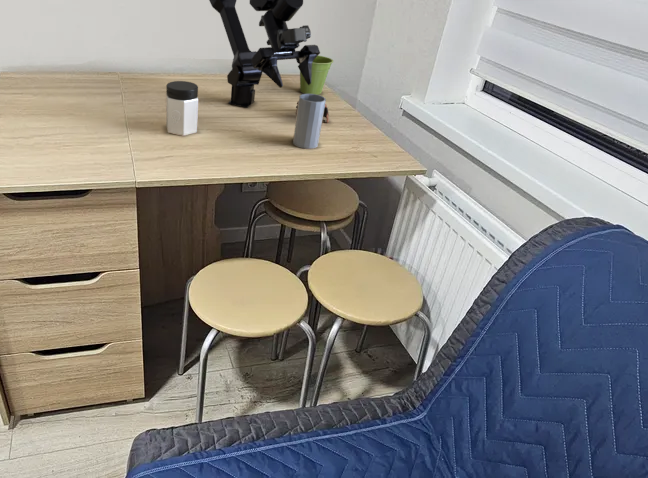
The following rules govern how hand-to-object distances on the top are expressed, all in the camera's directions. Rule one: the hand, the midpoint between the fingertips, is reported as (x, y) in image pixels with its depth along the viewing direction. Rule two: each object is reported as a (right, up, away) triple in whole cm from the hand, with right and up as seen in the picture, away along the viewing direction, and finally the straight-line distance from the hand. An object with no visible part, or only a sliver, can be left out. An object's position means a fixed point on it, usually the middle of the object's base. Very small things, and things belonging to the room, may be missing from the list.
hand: (295, 85), depth 137 cm
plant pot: (+9, +10, +41) cm, 44 cm away
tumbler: (+3, -15, +2) cm, 15 cm away
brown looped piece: (+7, -5, +19) cm, 21 cm away
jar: (-31, -11, +4) cm, 33 cm away
